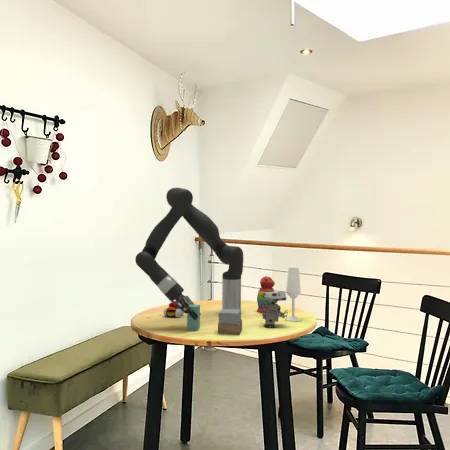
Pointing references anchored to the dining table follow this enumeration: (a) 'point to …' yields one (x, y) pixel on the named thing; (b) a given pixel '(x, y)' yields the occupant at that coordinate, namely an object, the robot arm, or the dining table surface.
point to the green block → (191, 322)
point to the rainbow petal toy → (173, 310)
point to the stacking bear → (265, 288)
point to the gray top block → (229, 316)
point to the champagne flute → (293, 289)
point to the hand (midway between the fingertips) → (197, 317)
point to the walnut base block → (230, 328)
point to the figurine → (273, 308)
